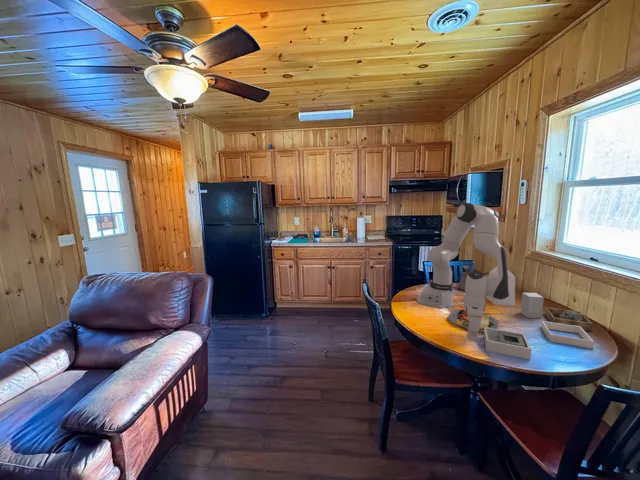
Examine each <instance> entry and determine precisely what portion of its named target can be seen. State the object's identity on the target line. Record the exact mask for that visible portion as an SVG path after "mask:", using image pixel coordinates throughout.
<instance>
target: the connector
mask: <svg viewBox="0 0 640 480" xmlns="http://www.w3.org/2000/svg"><path fill="white" fill-rule="evenodd" d="M478 333H479V332H478ZM478 333H477V332H475V336H473V335H471V331H470V329H469V324H468V328H467V340H469V341H474V342H475V341H478V337H479V336H478Z"/></svg>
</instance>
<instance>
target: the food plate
mask: <svg viewBox="0 0 640 480" xmlns="http://www.w3.org/2000/svg"><path fill="white" fill-rule="evenodd" d="M447 319H448V320H449V321H450V323H452V324H453V323H454V324H455V325H457V326H459V327H463V328H465V329H468V324H469V318H468V315H467V312H466V310H465V309H455V310H453V311H451V312H450V314H449V315H448V316H447ZM458 319H459V320H461V322H462V324H460V323H459V322H458V321H457V320H458ZM499 323H500V322H499V320H497V319H496V318H495V317H493V316H492V315H490V313H487V312H485V313H483V317H481V324H480V329H479V332H484V327H487V328H493V329H498V326H499Z"/></svg>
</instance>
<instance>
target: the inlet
mask: <svg viewBox="0 0 640 480" xmlns="http://www.w3.org/2000/svg"><path fill="white" fill-rule="evenodd" d="M497 341H498V342H500V343H506V344H511V345H516V346H522V347H525V344H524V342H523V339H522V337H521V336H516V335H510V334H505V333H499V332H498V337H497Z"/></svg>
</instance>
